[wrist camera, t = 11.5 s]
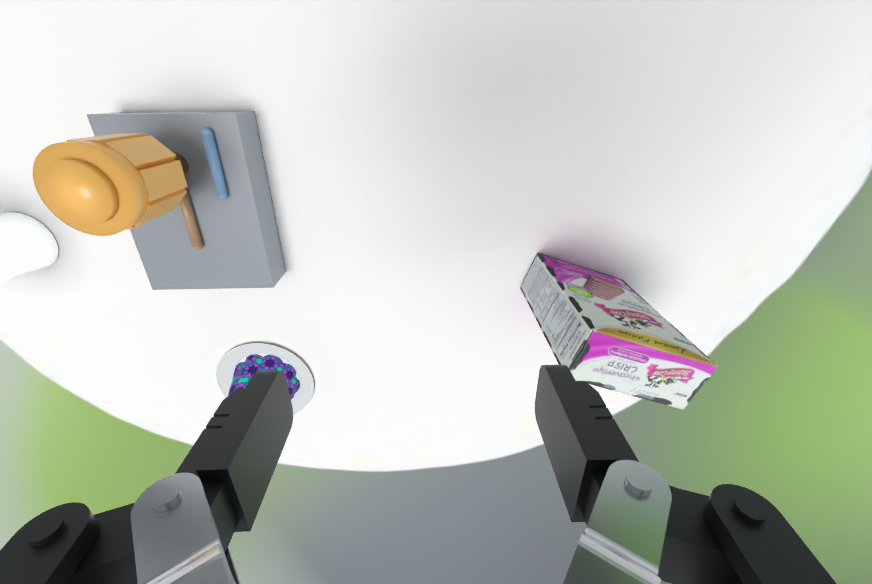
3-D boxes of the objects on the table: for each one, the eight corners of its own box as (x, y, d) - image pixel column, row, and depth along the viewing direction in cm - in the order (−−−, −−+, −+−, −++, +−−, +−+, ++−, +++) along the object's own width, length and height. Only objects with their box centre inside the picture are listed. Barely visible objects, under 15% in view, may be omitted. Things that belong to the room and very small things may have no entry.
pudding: (290, 328, 47) (275, 354, 42) (330, 401, 52) (321, 431, 47) (200, 353, 48) (176, 381, 43) (248, 422, 53) (232, 453, 48)
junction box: (120, 112, 35) (77, 115, 31) (254, 111, 36) (230, 113, 31) (175, 273, 43) (147, 293, 38) (285, 271, 43) (270, 291, 38)
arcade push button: (91, 133, 28) (1, 144, 22) (172, 132, 29) (104, 143, 22) (121, 211, 31) (47, 240, 25) (194, 210, 31) (139, 239, 25)
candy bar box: (624, 276, 44) (723, 366, 30) (602, 313, 47) (685, 413, 32) (535, 248, 43) (594, 329, 28) (517, 287, 45) (563, 382, 30)
